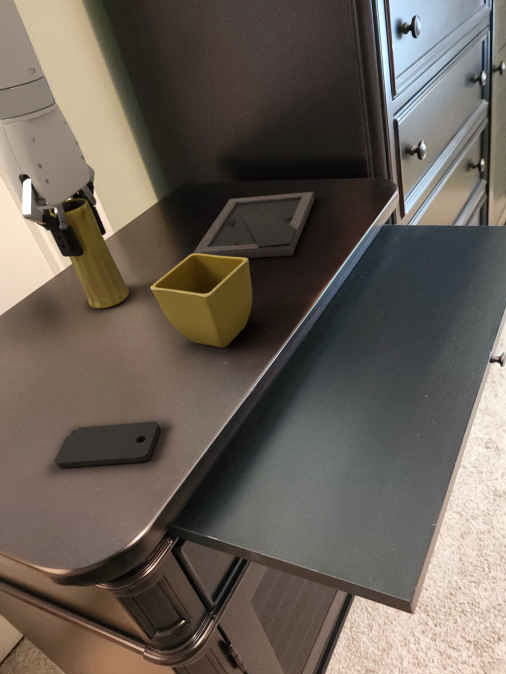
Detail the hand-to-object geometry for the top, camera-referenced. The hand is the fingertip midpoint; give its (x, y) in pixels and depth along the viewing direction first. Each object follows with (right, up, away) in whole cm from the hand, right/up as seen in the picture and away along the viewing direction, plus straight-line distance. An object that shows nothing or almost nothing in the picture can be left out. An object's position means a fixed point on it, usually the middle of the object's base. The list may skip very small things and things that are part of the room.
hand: (84, 243), depth 73 cm
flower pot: (+20, -14, -6) cm, 25 cm away
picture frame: (+23, +7, +17) cm, 29 cm away
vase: (+1, -7, +6) cm, 9 cm away
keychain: (+10, -27, -19) cm, 35 cm away
